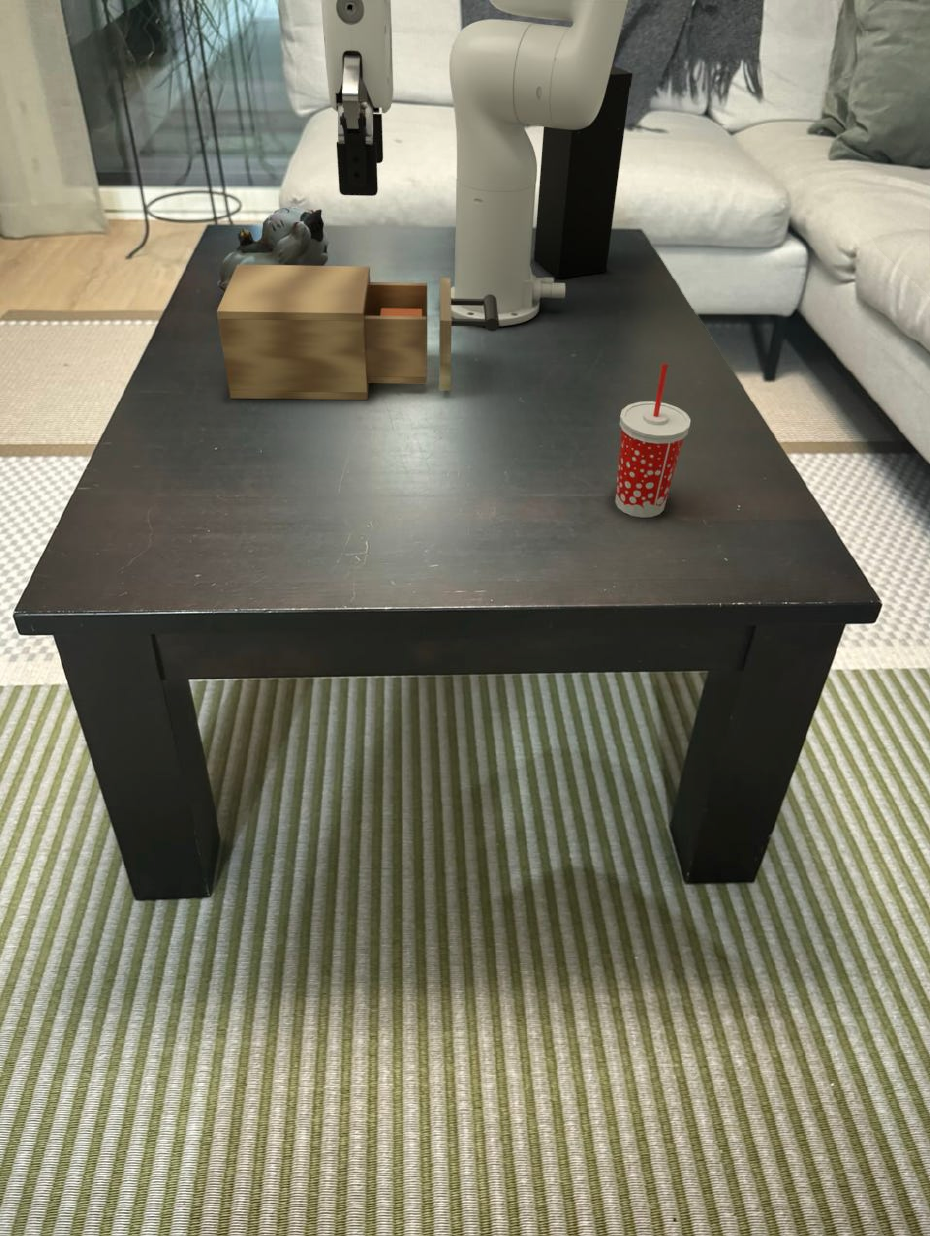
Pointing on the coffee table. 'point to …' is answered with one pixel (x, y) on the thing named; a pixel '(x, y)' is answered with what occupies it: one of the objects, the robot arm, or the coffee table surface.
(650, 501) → the beverage cup
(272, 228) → the lucky cat figurine
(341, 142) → the robot arm
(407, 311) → the block
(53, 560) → the coffee table surface
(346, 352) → the cabinet
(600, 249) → the tall black pillar
